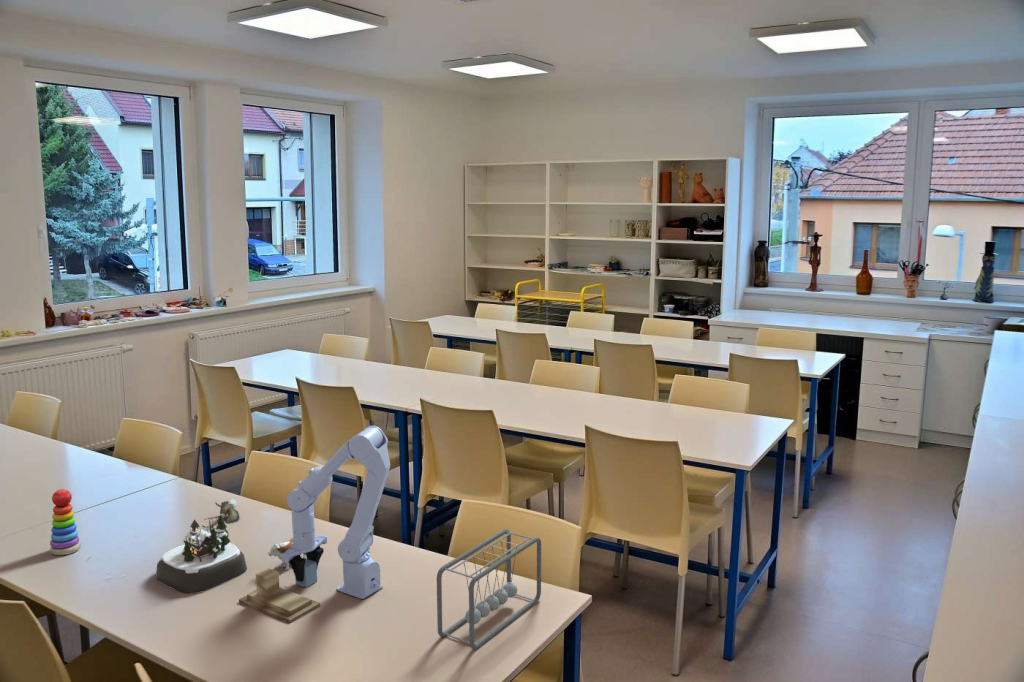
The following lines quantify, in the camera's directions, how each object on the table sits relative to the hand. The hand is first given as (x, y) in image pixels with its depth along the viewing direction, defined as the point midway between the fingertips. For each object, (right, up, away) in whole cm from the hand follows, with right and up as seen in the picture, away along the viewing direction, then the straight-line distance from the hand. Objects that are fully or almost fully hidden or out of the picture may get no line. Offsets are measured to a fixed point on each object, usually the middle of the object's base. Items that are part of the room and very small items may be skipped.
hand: (306, 577), depth 219 cm
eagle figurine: (-37, +6, +44) cm, 58 cm away
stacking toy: (-76, +2, +20) cm, 79 cm away
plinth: (-4, -4, -11) cm, 12 cm away
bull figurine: (-7, 0, +11) cm, 13 cm away
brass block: (-7, -1, -9) cm, 12 cm away
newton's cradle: (+50, -5, -18) cm, 54 cm away
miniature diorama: (-31, -1, +6) cm, 31 cm away
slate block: (0, -1, 0) cm, 1 cm away
